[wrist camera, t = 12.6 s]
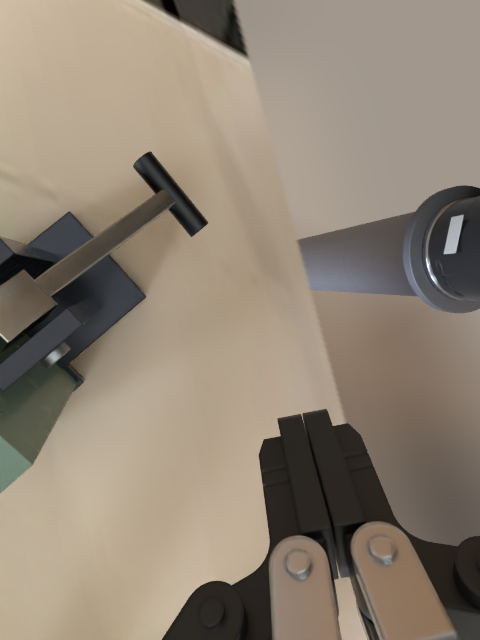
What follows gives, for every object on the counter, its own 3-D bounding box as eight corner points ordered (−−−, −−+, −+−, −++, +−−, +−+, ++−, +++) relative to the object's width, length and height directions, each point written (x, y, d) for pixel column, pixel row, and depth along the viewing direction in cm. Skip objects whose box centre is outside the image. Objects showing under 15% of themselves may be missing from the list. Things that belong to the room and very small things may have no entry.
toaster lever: (141, 164, 27) (157, 143, 25) (197, 232, 28) (216, 216, 26) (-65, 292, 19) (-65, 274, 17) (26, 378, 20) (36, 371, 18)
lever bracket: (71, 213, 30) (23, 162, 17) (146, 296, 32) (154, 307, 19) (-41, 303, 29) (-186, 323, 16) (43, 383, 31) (-24, 462, 18)
